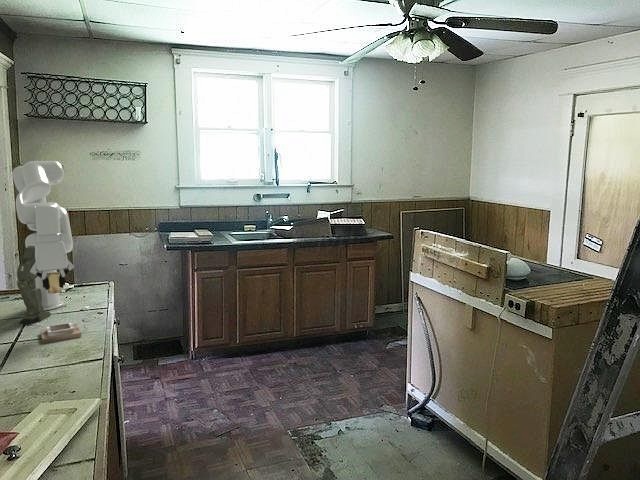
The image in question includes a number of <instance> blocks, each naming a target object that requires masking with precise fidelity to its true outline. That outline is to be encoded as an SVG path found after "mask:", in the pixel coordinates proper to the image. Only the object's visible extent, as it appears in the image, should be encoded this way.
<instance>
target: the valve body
mask: <svg viewBox="0 0 640 480" xmlns="http://www.w3.org/2000/svg"><path fill="white" fill-rule="evenodd" d="M60 275H61V273H60V271H57V272H50V273H47V274H46V277H47V282H48V293H50V294H53V293H59V294H60V293H62V288H61V281H60Z"/></svg>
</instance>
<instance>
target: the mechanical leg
mask: <svg viewBox="0 0 640 480" xmlns="http://www.w3.org/2000/svg"><path fill="white" fill-rule="evenodd" d="M22 258H23V260H22V263H21V264H18V265H17V266H18V267H17V270H16V276H17V281H16V285H17V287H18V290H19V293H20V295H21V298H22V302H23V303H24V305H25V307H26V309H25V310H26V311H25V313H24V317H22V318H21V319H20V320H19V324H20V325H33V324H36V323H38V322H41V321H43V320H44V319H47V318H49V317H50V316H51V311H48V310H44V308H43V306H42V293H41V289H39V288H38V289H36V281H35V278H37V275H35V274H33V273H31V272H30V270H31V268H32V267H33V265H34V264H35V246H28V247H27V248H26V247H25V252H24V255H23V257H22ZM36 271H38V270H37V268H36ZM38 272H39V271H38Z"/></svg>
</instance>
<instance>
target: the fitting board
mask: <svg viewBox="0 0 640 480" xmlns="http://www.w3.org/2000/svg"><path fill="white" fill-rule="evenodd" d="M39 331H40V336H41V340H42V344H48V343H53V342H58V341H64V340H70V339H75V338H81V337H82V332H81V330H80V328H79V326H78V324H77V323H75V324H73V323H72V322H64V323H57V324H52V325H51V324H50V325H47V326H46V328H44V329H40V330H39Z"/></svg>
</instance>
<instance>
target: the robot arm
mask: <svg viewBox="0 0 640 480" xmlns="http://www.w3.org/2000/svg"><path fill="white" fill-rule="evenodd" d="M64 176H65V171H64V167H63V165H62V163H60V162H59V161H57V160H30V161H28V162H26V163H24V164H23V165H19V166H16V167H14V168H13V170H12V179H13V183H14V185H15V188H16V190H17V191H18V194H17V196H16V199H15V208H16V213H17V219H18V220H19V222H20V223H22V224H24V225H27V228H28V230H30V231H35V232H34V233H31V234H29V235H27V236H26V238H25V241H24V244H25V249H26V248H27V247H28V246H35V264H34V265H33V267H32V268H31V270H30V272H31V273H33V274H35V275H37V278H35V281H36V289H38V288H39V289H41V293H42V306H43V308H44V310H46V311H51V310H55V309H59V308H61V307H63V306H64V305H65V302H64V300H63V299H60V292H59V293H53V294H50V293H48V282H47V277H46V274H47V273H50V272H60V281H61V289H64V286H66V278H65V277H66V275H67V274H68V273H70V271H72V270H73V269H74V268H75V265H74V264H73V263H72V262H71V261H70V260H69V259H68V255H67V254H68V253H71V252H72V251H73V248H74V241H73V236H72V228H71V224H70V218H69V213H68V211H67V210H66V209H65V208H64V207H62V206H60V205H59V204H58V203H56V202H55V201H50V202H49V201H48V202H47V198H46V197H47V196H49V195H50V193H51V191H52V186H55V185H59V184H61V182H62V181H63V180H64V178H65V177H64ZM36 268H37V270H38V271H39V272H38V271H36Z"/></svg>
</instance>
